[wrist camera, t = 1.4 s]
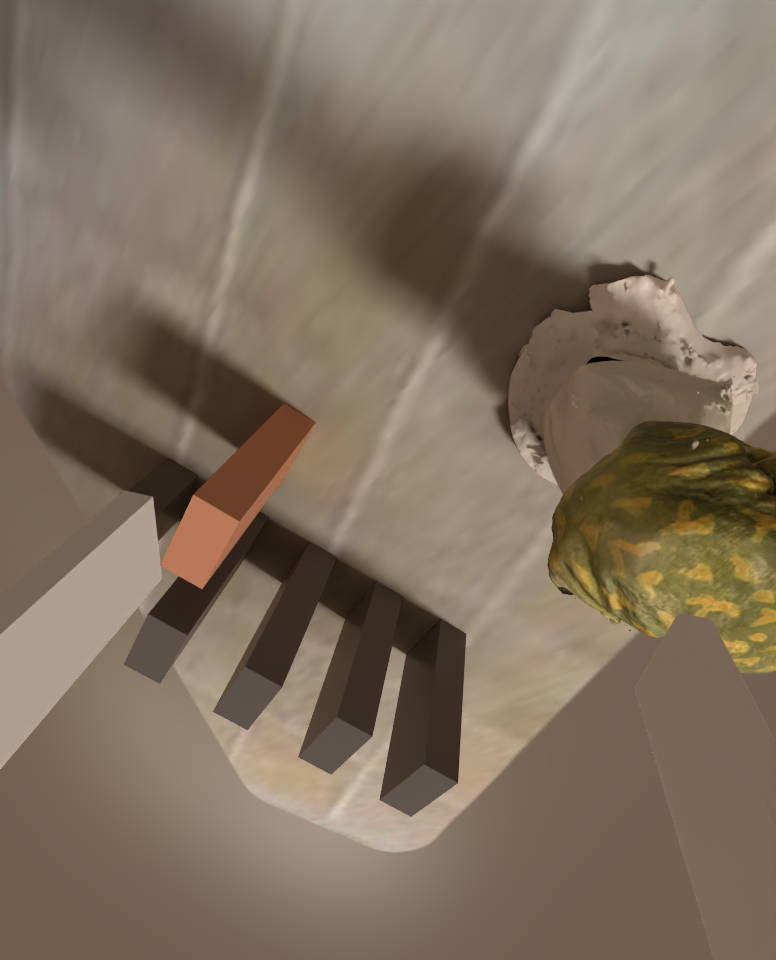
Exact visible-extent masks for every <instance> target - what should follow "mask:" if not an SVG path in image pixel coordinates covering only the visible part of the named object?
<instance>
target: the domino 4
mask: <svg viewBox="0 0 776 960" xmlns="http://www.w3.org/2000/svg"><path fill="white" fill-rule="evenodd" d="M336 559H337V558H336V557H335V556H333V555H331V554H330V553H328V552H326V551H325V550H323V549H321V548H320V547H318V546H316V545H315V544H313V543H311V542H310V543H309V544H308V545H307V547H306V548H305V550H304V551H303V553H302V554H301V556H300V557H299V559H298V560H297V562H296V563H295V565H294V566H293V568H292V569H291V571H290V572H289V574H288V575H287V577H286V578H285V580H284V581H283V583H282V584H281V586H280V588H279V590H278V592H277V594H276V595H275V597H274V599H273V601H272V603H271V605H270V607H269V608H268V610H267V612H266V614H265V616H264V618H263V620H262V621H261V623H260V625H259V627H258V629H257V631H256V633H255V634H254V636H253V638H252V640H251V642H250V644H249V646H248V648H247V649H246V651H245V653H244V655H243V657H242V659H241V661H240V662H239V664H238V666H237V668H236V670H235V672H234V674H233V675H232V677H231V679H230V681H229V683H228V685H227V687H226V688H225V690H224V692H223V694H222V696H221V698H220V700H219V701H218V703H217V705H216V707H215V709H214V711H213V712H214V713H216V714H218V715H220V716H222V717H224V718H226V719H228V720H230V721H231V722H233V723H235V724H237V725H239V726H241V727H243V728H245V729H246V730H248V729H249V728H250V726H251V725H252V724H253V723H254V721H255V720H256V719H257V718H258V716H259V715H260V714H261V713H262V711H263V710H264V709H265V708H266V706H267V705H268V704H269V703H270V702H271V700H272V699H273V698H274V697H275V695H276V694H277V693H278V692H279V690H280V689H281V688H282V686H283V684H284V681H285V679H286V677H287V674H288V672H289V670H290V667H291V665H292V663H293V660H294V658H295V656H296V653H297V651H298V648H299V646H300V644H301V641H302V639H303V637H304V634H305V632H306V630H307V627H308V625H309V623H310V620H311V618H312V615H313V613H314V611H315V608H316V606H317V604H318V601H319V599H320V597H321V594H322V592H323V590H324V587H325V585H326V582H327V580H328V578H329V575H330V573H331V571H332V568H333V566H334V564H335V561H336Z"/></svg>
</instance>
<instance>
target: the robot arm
mask: <svg viewBox="0 0 776 960" xmlns="http://www.w3.org/2000/svg"><path fill="white" fill-rule="evenodd" d="M161 579H162V573H161V564H160V555H159V546H158V537H157V528H156V519H155V510H154V501H153V497H152V496H147V495H143V494H138V493H134V492H129V491H124V492H122V493H121V494H120V495H119V496H118V497H116V498H115V499H114V500H113V501H111V502H110V503H109V504H108V505H107V506H105V507H104V508H103V509H102V510H100V511H99V512H98V513H97V514H95V515H94V516H93V517H92V518H91V519H89V520H88V521H87V522H86V523H85V524H83V525H82V526H81V527H80V528H78V529H77V530H76V531H75V532H74V533H72V534H71V535H70V536H69V537H67V538H66V539H65V540H64V541H62V542H61V543H60V544H59V545H58V546H56V547H55V548H54V549H53V550H51V551H50V552H49V553H48V554H46V555H45V556H44V557H43V558H42V559H40V560H39V561H38V562H37V563H36V564H34V565H33V566H32V567H31V568H29V569H28V570H27V571H26V572H24V573H23V574H22V575H21V576H20V577H18V578H17V579H16V580H15V581H13V582H12V583H11V584H10V585H9V586H7V587H6V588H5V589H4V590H2V591H1V592H0V769H1V767H3V765H4V764H5V763H6V762H7V761H8V759H9V758H10V757H11V756H12V755H13V753H14V752H15V751H16V750H17V749H18V747H20V745H21V744H22V743H23V742H24V740H25V739H26V738H27V737H28V736H29V735H30V734H31V732H32V731H33V730H34V729H35V727H36V726H37V725H38V724H39V723H40V722H41V720H42V719H43V718H44V717H45V716H46V715H47V714H48V712H49V711H50V710H51V709H52V708H53V706H54V705H55V704H56V703H57V702H58V700H59V699H60V698H61V697H62V696H63V695H64V693H65V692H66V691H67V690H68V689H69V688H70V686H71V685H72V684H73V683H74V682H75V680H76V679H77V678H78V677H79V676H80V675H81V673H82V672H83V671H84V670H85V669H86V668H87V666H88V665H89V664H90V663H91V662H92V660H93V659H94V658H95V657H96V656H97V655H98V653H99V652H100V651H101V650H102V649H103V648H104V646H105V645H106V644H107V643H108V642H109V640H110V639H111V638H112V637H113V635H115V633H116V632H117V631H118V630H119V629H120V628H121V626H122V625H123V624H124V623H125V621H126V620H127V619H128V618H129V617H130V616H131V614H132V613H133V612H134V611H135V610H136V608H137V607H138V606H139V605H140V604H141V603H142V602H143V600H144V599H145V598H146V597H147V596H148V595H149V593H150V592H151V591H152V590H153V589H154V587H155V586H156V585H157V584H158V583H159V582H160V580H161ZM634 690H635V694H636V697H637V701H638V704H639V707H640V711H641V714H642V717H643V721H644V725H645V728H646V731H647V734H648V738H649V742H650V745H651V748H652V752H653V755H654V759H655V762H656V766H657V769H658V772H659V776H660V779H661V782H662V786H663V789H664V793H665V796H666V800H667V803H668V806H669V810H670V813H671V817H672V820H673V824H674V827H675V830H676V834H677V837H678V841H679V844H680V847H681V851H682V854H683V858H684V861H685V865H686V868H687V871H688V875H689V878H690V882H691V885H692V889H693V892H694V895H695V899H696V902H697V906H698V909H699V912H700V916H701V919H702V923H703V926H704V930H705V933H706V936H707V940H708V943H709V946H710V950H711V953H712V957H713V960H776V741H775V739H774V737H773V735H772V733H771V732H770V730H769V728H768V726H767V724H766V722H765V720H764V718H763V716H762V714H761V713H760V711H759V709H758V707H757V705H756V703H755V701H754V699H753V697H752V695H751V693H750V691H749V690H748V688H747V686H746V684H745V682H744V680H743V678H742V676H741V674H740V672H739V670H738V668H737V667H736V665H735V663H734V661H733V659H732V657H731V655H730V653H729V651H728V649H727V647H726V646H725V644H724V642H723V640H722V638H721V636H720V634H719V632H718V630H717V628H716V626H715V624H714V623H713V621H712V620H711V619H707V618H702V617H698V616H693V615H689V614H684V613H679V612H678V614H677V616H676V617H675V619H674V621H673V623H672V624H671V626H670V628H669V629H668V631H667V633H666V635H665V636H664V638H663V640H662V641H661V643H660V645H659V646H658V648H657V650H656V652H655V653H654V655H653V657H652V658H651V660H650V662H649V663H648V665H647V667H646V669H645V671H644V672H643V674H642V675H641V677H640V679H639V681H638V682H637V684H636V686H635V687H634Z"/></svg>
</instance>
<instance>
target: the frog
mask: <svg viewBox="0 0 776 960" xmlns="http://www.w3.org/2000/svg"><path fill="white" fill-rule="evenodd" d="M673 283H674V278H673V277H671V278H669V279H668V280H667V281H665V280H661V279H659V278H656V277H653V276H651V275H646V274H645V276H632V277H628V278H625V279H623V280H619V281H616V282H613V283H609V284H608V283H604V284H599V285H592V286H591V287H590V288H589V291H590V294H589V297H590V298H591V299H590V301H589V303H590V304H591V309H592V310H593V311H585V312H578V313H571V312H568V311H562V310H558V309H555V310H553V312H552V313H551V317H548V318H546V319H545V320H544V321H543V322H542V323H541V324H539V325H537V326H536V327H535V328H534V329H533V333H532V337H531V339H530V340H529V344H527V345H524V346H523V347H522V350H521V351H520V353H519V355H520V354H521V355H520V357H519V359H518V361H517V363H516V365H515V367H514V369H513V372H512V373H511V377H510V384H509V391H508V406H509V416H510V423H511V425H510V427H511V432H512V435H513V438H514V441H515V444H516V446H517V449H518V450H519V453H520V454H521V456H523V458H524V459H525V460H526V462H527V463H528V465H529V466H531V468H532V469H533V470H534V471H535V472H536V473H537V474H538V475H540V476H541V477H542V478H545V479H546V480H548V481H550V482H552V483H554V484H556V485H557V486H559V488H560V490H561V491H562V493H563V496H562V498H561V500H560V502H559V504H558V506H557V507H556V509H555V512H554V514H553V517H552V520H553V523H552V532H553V543H552V546H551V550H550V553H549V558H548V569H549V576H550V578H551V580H552V582H553V583H554V584H555V585H556V586H557V587H558V589H559V590H560V591H561V592H562V593H563V594H569V595H573V594H574V595H575V596H577V597H578V598H579V599H581V600H582V601H583V602H585V603H586V604H588V605H589V606H591V607H593V608H595V609H597V610H599V611H600V612H601V614H602V615H603V616H605V617H606V618H608V619H610V621H611V623H612V624H619V623H620V621H621V620H623V621H624V622H626V623H627V624H629V625H630V626H632V627H633V628H635V629H637V630H638V631H640V632H642V633H645V634H647V635H650V636H652V637H657V638H659V639H662V640H663V638H664V636H665V635H666V633H667V631H668V629H669V628H670V626H671V624H672V623H673V621H674V619H675V617H676V616H677V614H678V612H679V613H684V614H689V615H693V616H698V617H702V618H707V619H711V620H712V621H713V623H714V624H715V626H716V628H717V630H718V632H719V634H720V636H721V638H722V640H723V642H724V644H725V646H726V647H727V649H728V651H729V653H730V655H731V657H732V659H733V661H734V663H735V665H736V667H737V668H738V670H739V672H740V673H769V672H774V671H776V451H767V450H765V449H762V448H759V447H753V446H750V445H747V444H746V443H744V442H742V441H741V440H739V439H737V438H736V437H734V436H732V434H733V433H734V432H736V431H737V429H738V428H739V427H740V425H741V424H742V422H743V420H744V418H745V416H746V411H747V409H748V407H749V405H750V402H751V398H752V394H753V393H758V390H759V387H758V386H759V384H758V383H757V381H756V380H755V376H756V365H757V364H756V361H755V359H754V357H753V356H752V355H751V354H750V353H749V352H748V351H747V350H746V349H744V348H740V347H738V346H735V347H732V346H723V345H722V344H721V343H720V342H711V341H710V340H708V339H706V338H704V337H703V336H702V335H701V333H700V332H699V331H698V330H697V329H696V328H695V327H694V325H693V323H692V319H691V317H690V315H689V314H688V312H687V310H686V308H685V306H684V303H683V299H682V297H681V296H680V294H679V293H678V291H677V289H676V288H675V287H674V286H673ZM519 355H518V356H519ZM598 356H604V357H610V358H613V359H618V360H624V361H603V362H596V363H588V364H586V363H587V362H588V361H589V360H590V359H591V358H593V357H598ZM575 599H576V598H575ZM629 631H631V630H629Z"/></svg>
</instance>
